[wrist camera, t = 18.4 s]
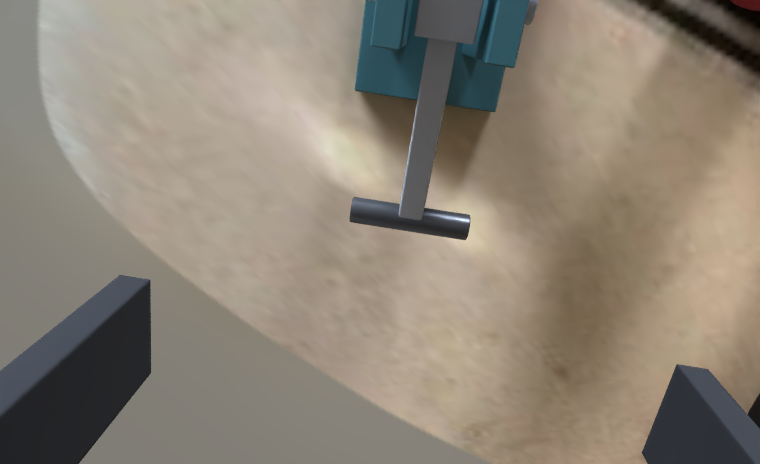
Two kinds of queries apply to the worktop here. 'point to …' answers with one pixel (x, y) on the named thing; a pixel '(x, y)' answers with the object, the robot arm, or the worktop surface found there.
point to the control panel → (755, 412)
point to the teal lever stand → (407, 52)
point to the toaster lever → (427, 124)
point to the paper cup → (748, 4)
